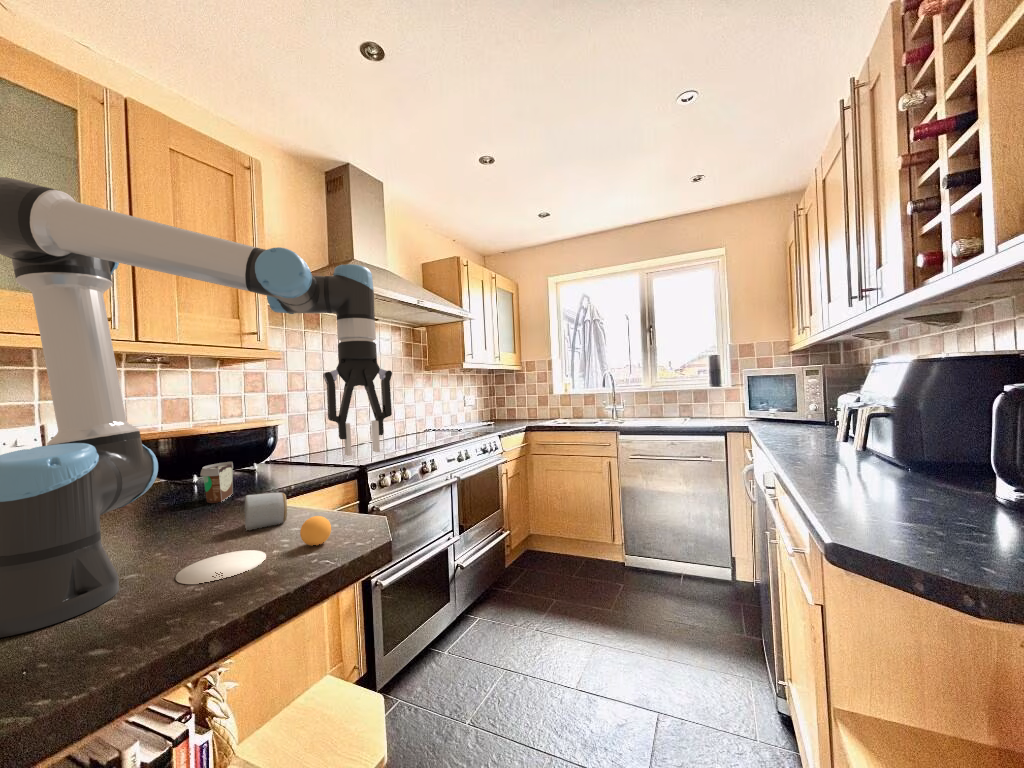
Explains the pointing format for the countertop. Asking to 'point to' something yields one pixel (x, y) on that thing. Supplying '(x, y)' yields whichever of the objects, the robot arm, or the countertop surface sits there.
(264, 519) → the ceramic mug
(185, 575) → the cream disc
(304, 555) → the countertop surface
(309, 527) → the ball
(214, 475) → the food container
